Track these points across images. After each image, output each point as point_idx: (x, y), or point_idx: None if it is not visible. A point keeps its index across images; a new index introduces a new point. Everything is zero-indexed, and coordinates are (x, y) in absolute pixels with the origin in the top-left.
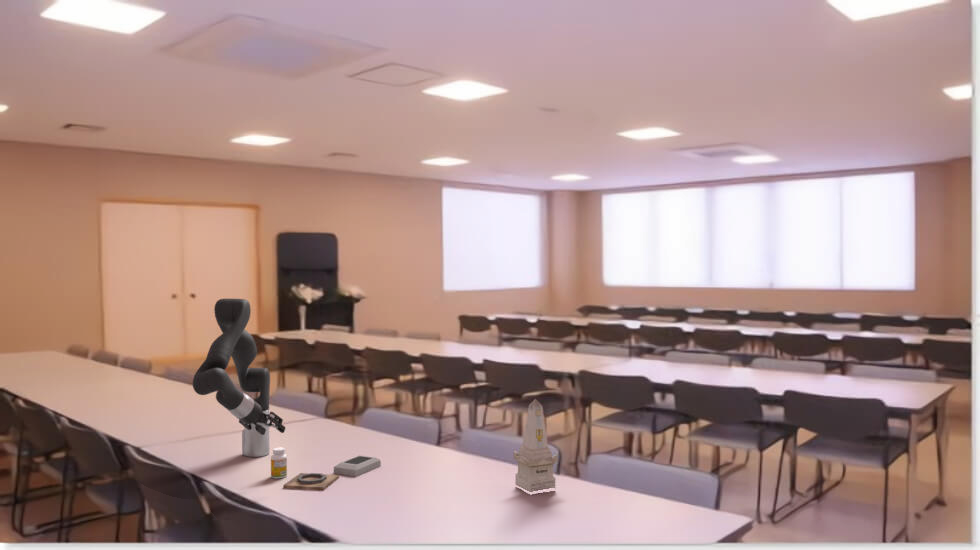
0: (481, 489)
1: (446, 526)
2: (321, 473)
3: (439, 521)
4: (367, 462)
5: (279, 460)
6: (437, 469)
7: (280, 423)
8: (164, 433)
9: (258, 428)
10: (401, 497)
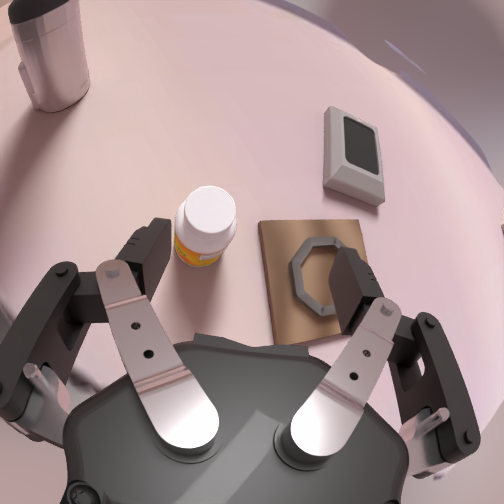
0: (493, 239)
1: (500, 372)
2: (334, 236)
3: (497, 364)
4: (380, 154)
5: (222, 249)
6: (436, 157)
7: (419, 356)
8: None
9: (147, 291)
10: (466, 304)
